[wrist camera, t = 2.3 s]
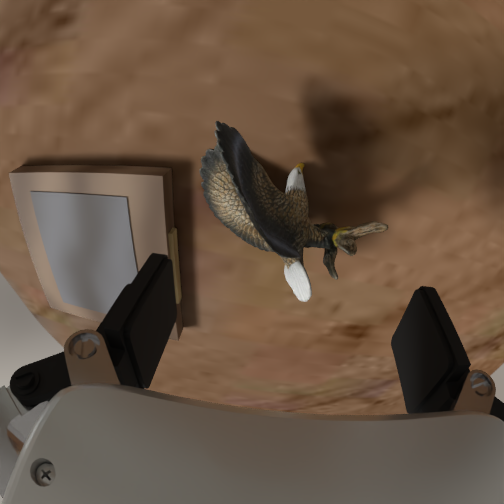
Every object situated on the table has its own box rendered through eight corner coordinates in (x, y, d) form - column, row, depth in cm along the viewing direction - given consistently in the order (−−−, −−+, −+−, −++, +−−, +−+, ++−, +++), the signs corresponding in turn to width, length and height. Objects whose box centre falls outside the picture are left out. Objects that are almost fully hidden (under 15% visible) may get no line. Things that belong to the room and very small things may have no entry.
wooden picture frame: (176, 168, 18) (166, 177, 17) (186, 328, 26) (181, 342, 24) (20, 166, 19) (8, 173, 17) (57, 298, 27) (49, 308, 25)
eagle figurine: (387, 162, 15) (234, 80, 12) (387, 291, 12) (181, 214, 10) (313, 213, 22) (193, 164, 19) (298, 311, 19) (157, 267, 16)
